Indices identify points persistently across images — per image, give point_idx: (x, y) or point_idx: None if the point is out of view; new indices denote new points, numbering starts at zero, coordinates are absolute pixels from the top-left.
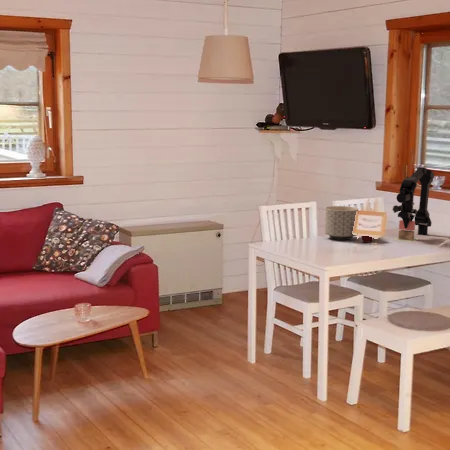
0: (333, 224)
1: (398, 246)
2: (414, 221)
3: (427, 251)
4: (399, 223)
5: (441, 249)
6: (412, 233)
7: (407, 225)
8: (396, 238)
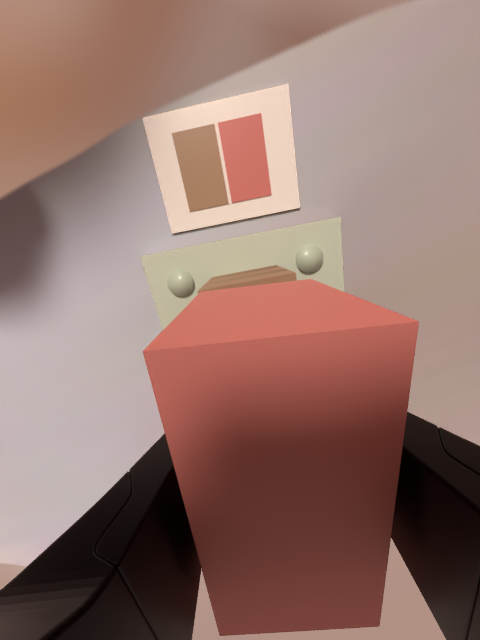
0: None
1: (24, 379)
2: (341, 627)
3: (59, 536)
4: (173, 326)
5: None
6: None
7: None
8: (239, 240)
